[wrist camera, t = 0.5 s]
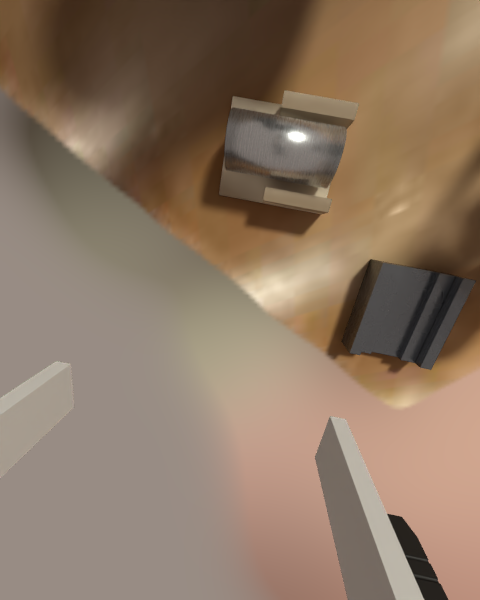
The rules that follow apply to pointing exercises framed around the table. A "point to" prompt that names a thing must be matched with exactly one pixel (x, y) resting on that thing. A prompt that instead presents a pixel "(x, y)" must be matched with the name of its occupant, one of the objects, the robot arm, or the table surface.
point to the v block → (405, 312)
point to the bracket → (282, 190)
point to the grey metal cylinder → (283, 147)
